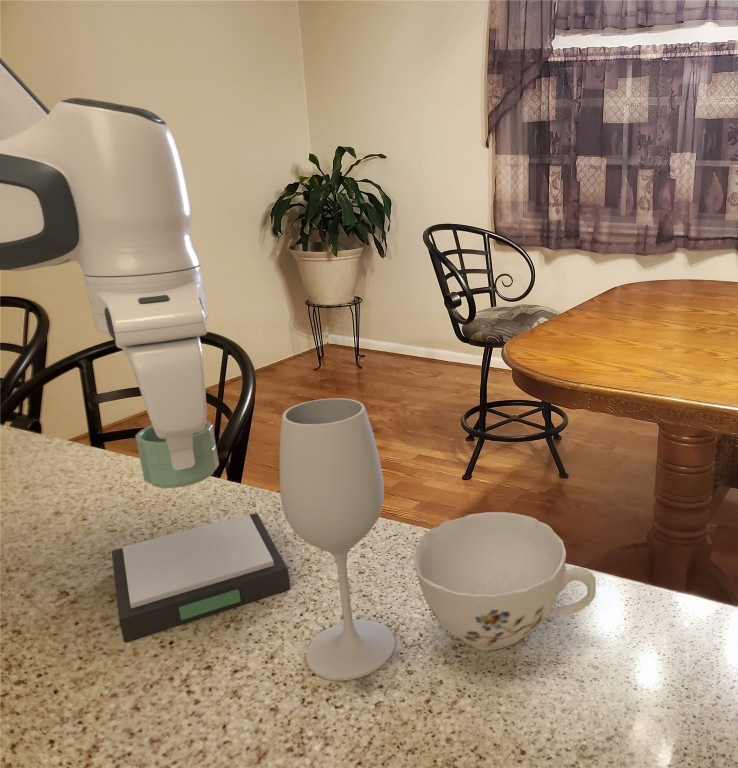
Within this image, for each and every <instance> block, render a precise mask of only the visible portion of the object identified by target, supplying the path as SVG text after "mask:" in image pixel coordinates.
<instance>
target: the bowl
mask: <svg viewBox="0 0 738 768" xmlns="http://www.w3.org/2000/svg"><path fill="white" fill-rule="evenodd" d="M134 437H135V442H136V447H137V452H138V456H139V460H140V466H141V470H142V471H141V472H142V475H143V480H144V482H146V483H148V484H150V485H151V486H153V487H155V488H160V489H176V488H183V487H188V486H191V485H194V484H198V483H200V482H202V481H205V480H207V479H208V478H209V477H211V476H212V475H213V474H214V472H215V471H217V469H218V467H219V465H220V462H219V455H218V449H217V445H216V438H215V431H214V426H213V424H212V422H211V420H207V419H206V426H205V429H204V430H203V431H201V432H198V433H193V452H194V458H195V465H194V466H193V467H191V468H186V469H182V470H175V469H174V468H173V466H172V463H171V459H170V454H169V449H168V445H167V442H166V439H161V438H159V437H158V436H157V435H156V433H155V431H154V428H153V426H152V424H151V425H149V426H146V427H145V428H143V429H141V430H139V431H138V432H137V433H136V434H135V436H134Z"/></svg>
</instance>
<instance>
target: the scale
mask: <svg viewBox="0 0 738 768" xmlns="http://www.w3.org/2000/svg"><path fill="white" fill-rule="evenodd" d="M111 557H112V558H111V559H112V567H113V568H112V569H113V577H114V586H115V597H116V605H117V614H118V616H117V617H118V622H119V626H120V630H121V634H122V639H123V642H124V643H128V642H131V641H134V640H138V639H140V638H144V637H146V636H150V635H153V634H156V633H160V632H162V631H165V630H169V629H171V628H174V627H179V626H180V625H184V624H187V623H190V622H194V621H196V620H199V619H202V618H206V617H209V616H212V615H216V614H218V613H221V612H225V611H228V610H231V609H234V608H237V607H240V606H243V605H247V604H250V603H253V602H256V601H259V600H261V599H265V598H268V597H271V596H274V595H277V594H280V593H285V592H287V591H289V590H290V591H291V583H290V582H291V581H290V575H289V569H288V568H289V567H288V566H287V564H286V562H285V560H284V559H283V557H282V555H281V552H279V550H278V548H277V546H276V544H275V542H274V540H273V539H272V537H271V535H270V533H269V531H268V530H267V529H266V526H265V524H264V522H263V521H262V519H261V517H260V515H259V513H258V512H255V513H251V514H250V513H247V514H243V515H240V516H236V517H232V518H228V519H224V520H220V521H216V522H213V523H209V524H205V525H201V526H198V527H193V528H189V529H186V530H182V531H178V532H175V533H174V532H173V533H171V534H167V535H163V536H159V537H155V538H151V539H147V540H144V541H143V540H142V541H140V542H136V543H132V544H128V545H124V546H122V547H120V548H117V549H113V550H111Z"/></svg>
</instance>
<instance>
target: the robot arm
mask: <svg viewBox="0 0 738 768" xmlns="http://www.w3.org/2000/svg"><path fill="white" fill-rule="evenodd" d="M192 214H193V213H192V206H191V199H190V195H189V190H188V185H187V180H186V176H185V171H184V167H183V164H182V160H181V156H180V151H179V149H178V146H177V143H176V140H175V138H174V134H173V132H172V131H171V129H170V127H169V125H168V124H167V122H166V121H164V119H162V118H161V117H160V116H159V115H158V114H156V113H154V112H153V111H150V110H148V109H146V108H140V107H136V106H131V105H124V104H120V103H115V102H108V101H102V100H97V99H91V98H83V97H71V98H67V99H62V100H61V101H59V102H57V103H56V104H55V105H54V106H53V107H52V109H51V110H50V109H49V108H48V107H47V106H46V105H45V103H43V102H42V100H40V99H39V98H38V97H37V95H35V93H34V92H33V91H32V89H30V88H29V86H27V84H25V82H24V81H23V80H22V79H21V77H19V76H18V75H17V74H16V73H15V72H14V71H13V70H12V68H11V67H10V66H8V64H7V63H6V62H5V61H4V60H3V59H2V58H1V57H0V271H7V272H10V271H11V272H25V271H30V270H31V271H32V270H36V269H41V268H42V269H43V268H47V267H56V266H60V265H64V264H68V263H73V262H76V263H78V264H79V266H80V267H81V271H82V274H83V280H84V284H85V289H86V294H87V297H88V302H89V307H90V312H91V316H92V321H93V325H94V329H95V330H96V331H97V332H101V333H104V334H106V335H107V336H109V337H111V338H112V340H113V341H114V343H115V346H116V348H118V349H121V350H122V351H123V353H124V354H125V355H126V357H127V359H128V361H129V363H130V366H131V369H132V371H133V372H132V373H133V374H134V377H135V380H136V383H137V386H138V389H139V391H140V395H141V398H142V401H143V403H144V406H145V409H146V412H147V415H148V418H149V420H150V421H149V422H150V423H151V425H152V426H153V428H154V431H155V433H156V435H157V436H158V437H159V438H161V439H166V442H167V445H168V449H169V454H170V459H171V463H172V466H173V468H174V469H175V470H182V469H186V468H191V467H193V466H194V465H195V458H194V452H193V433H198V432H201V431H203V430H204V429H205V426H206V420H207V411H208V409H207V393H206V381H205V369H204V368H205V367H204V356H203V347H202V342H201V337H203V336H206V335H207V334H208V325H207V319H208V318H209V310H208V304H207V298H206V291H205V286H204V278H203V273H202V267H201V261H200V258H199V256H198V254H197V252H196V250H195V248H194V247H195V246H194V243H193V242H192V236H191V225H192V224H191V223H192Z"/></svg>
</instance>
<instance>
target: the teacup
mask: <svg viewBox="0 0 738 768" xmlns="http://www.w3.org/2000/svg"><path fill="white" fill-rule="evenodd" d="M566 559H567V551H566V548H565V544H564V540H563V539H562V538H561V537H559V535H558V534H557V533H556V532H555V531H554V530H553V529H552V526H550V525H548V524H547V523H545V522H542V521H539V520H538V519H537V518H535V517H532V516H527V515H524V514H518V513H514V512H507V511H506V512H505V511H486V512H481V513H480V512H479V513H472V514H468V515H465V516H463V517H462V516H461V517H458V518H455V519H451V520H450V519H449V520H445V521H443V522H441V523H440V524H439V525H438V526H435V527H432V528H431V529H429V530H428V531H426V532H425V533H424V535H423V536H421V537H420V538H419V540H418V543H417V545H416V547H415V549H414V553H413V565H414V569H415V572H416V576H417V580H418V583H419V586H420V590H421V592H422V594H423V597H424V599H425V601H426V603H427V605H428V607H429V609H430V611H431V612H432V614H433V615H434V617H435V618H436V619H437V621H438V622H439V623H440V624H441V625H442V626H443V627H444V628H445V629H446V630H447V631H449V632H450V633H451V634H452V635H453V636H455V637H456V638H458V639H460V640H462V642H463V643H465V644H467V645H470V646H471V647H473V648H474V649H476V650H480V651H495V650H499V649H503V648H507V647H510V646H513V645H515V644H517V643H518V642H519V641H521V639H523V638H525V637H526V636H528V635H530V634H531V633H532V632H534V630H535V629H536V628H537V627H539V626H540V624H542V623H543V621H544V620H545V619H546V618H550V617H560V616H567V615H568V616H570V615H573V614H577V613H579V612H581V611H582V610H583V609H586V607H588V606H589V605H590V604H591V603H592V601H593V600H594V599H595V598H596V590H597V589H596V588H597V587H596V586H597V585H596V577H595V576H594V574H593V573H592V571H590V570H589V569H587V568H584V567H570V568H566ZM573 581H579V582H582V583H583V584H584V585H585V587H586V591H587V593H586V595H585V596H583V597H582V598H580V600H578V601H576V602H572V603H570V604H565V605H562V606H559V607H553V606H554V604H555V603H556V600H557V598H558V596H559V594H561V592H563V591H564V590H565V589H566V587H567V586H568V585H569V584H570V583H571V582H573Z"/></svg>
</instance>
